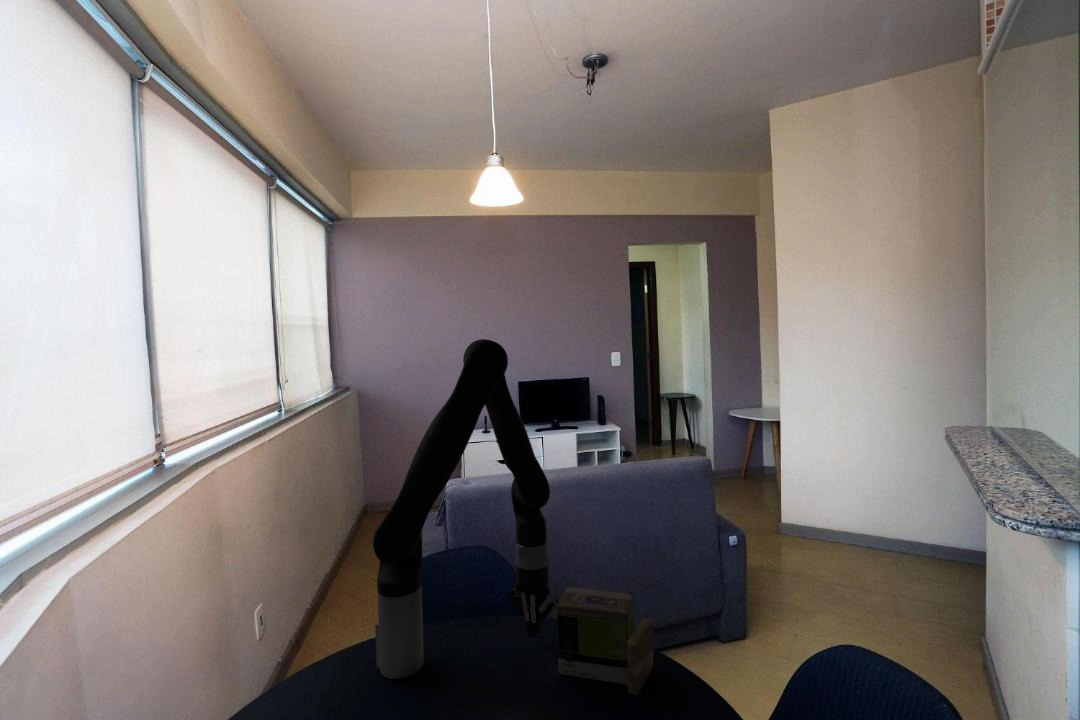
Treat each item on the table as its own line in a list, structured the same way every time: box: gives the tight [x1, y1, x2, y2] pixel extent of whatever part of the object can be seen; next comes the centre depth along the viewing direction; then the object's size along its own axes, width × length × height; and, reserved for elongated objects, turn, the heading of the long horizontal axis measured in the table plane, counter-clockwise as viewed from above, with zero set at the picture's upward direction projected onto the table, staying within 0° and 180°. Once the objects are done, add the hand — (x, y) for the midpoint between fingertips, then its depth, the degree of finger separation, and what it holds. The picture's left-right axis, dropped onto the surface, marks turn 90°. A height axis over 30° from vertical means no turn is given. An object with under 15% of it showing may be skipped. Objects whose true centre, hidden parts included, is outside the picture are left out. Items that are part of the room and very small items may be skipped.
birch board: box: [627, 618, 654, 696], centre depth 102 cm, size 2×10×10 cm, turn 150°
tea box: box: [556, 585, 635, 686], centre depth 107 cm, size 15×10×15 cm
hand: (533, 635), depth 115 cm, fingers closed
